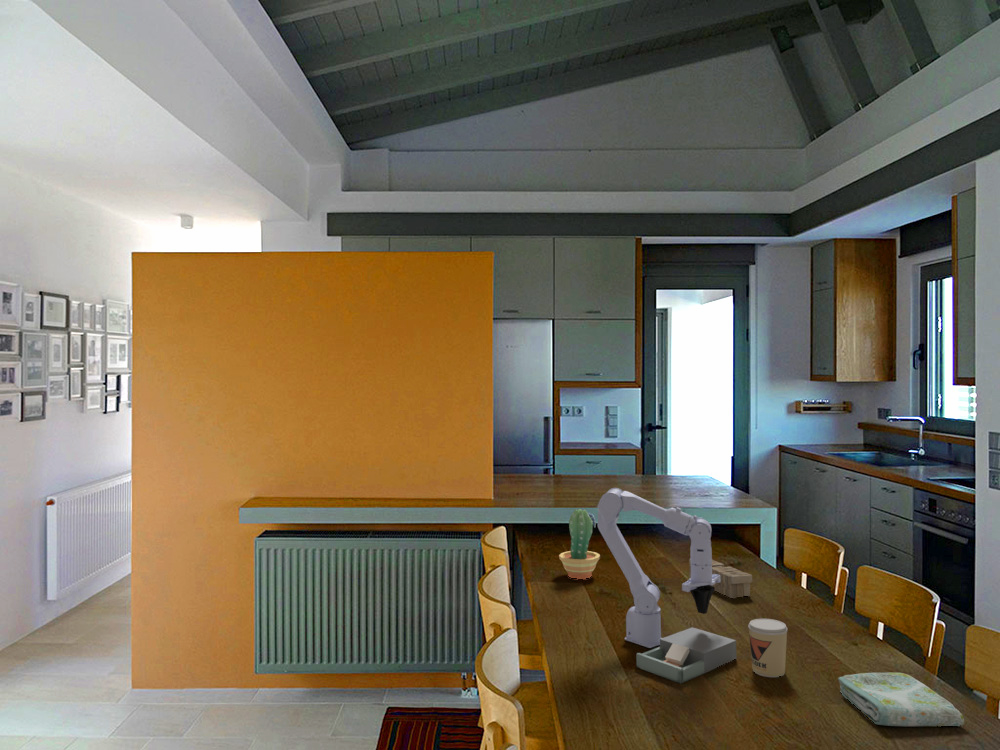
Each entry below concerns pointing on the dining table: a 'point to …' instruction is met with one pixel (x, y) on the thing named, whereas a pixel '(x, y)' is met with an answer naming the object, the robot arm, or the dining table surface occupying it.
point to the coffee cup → (768, 647)
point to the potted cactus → (580, 546)
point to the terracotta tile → (673, 663)
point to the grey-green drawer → (668, 666)
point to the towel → (898, 700)
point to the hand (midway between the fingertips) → (702, 612)
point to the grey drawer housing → (702, 647)
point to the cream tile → (677, 654)
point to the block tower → (730, 580)
